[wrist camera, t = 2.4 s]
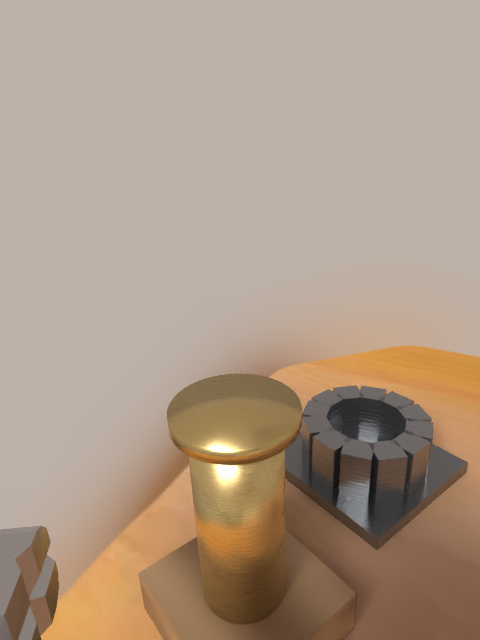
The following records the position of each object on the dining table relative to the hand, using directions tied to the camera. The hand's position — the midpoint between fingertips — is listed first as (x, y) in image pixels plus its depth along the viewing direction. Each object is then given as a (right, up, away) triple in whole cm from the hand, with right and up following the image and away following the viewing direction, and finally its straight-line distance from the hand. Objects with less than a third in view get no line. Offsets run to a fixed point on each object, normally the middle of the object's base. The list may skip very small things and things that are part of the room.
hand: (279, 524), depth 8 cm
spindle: (0, -12, +18) cm, 21 cm away
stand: (0, -14, +19) cm, 24 cm away
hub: (+10, -9, +31) cm, 34 cm away
